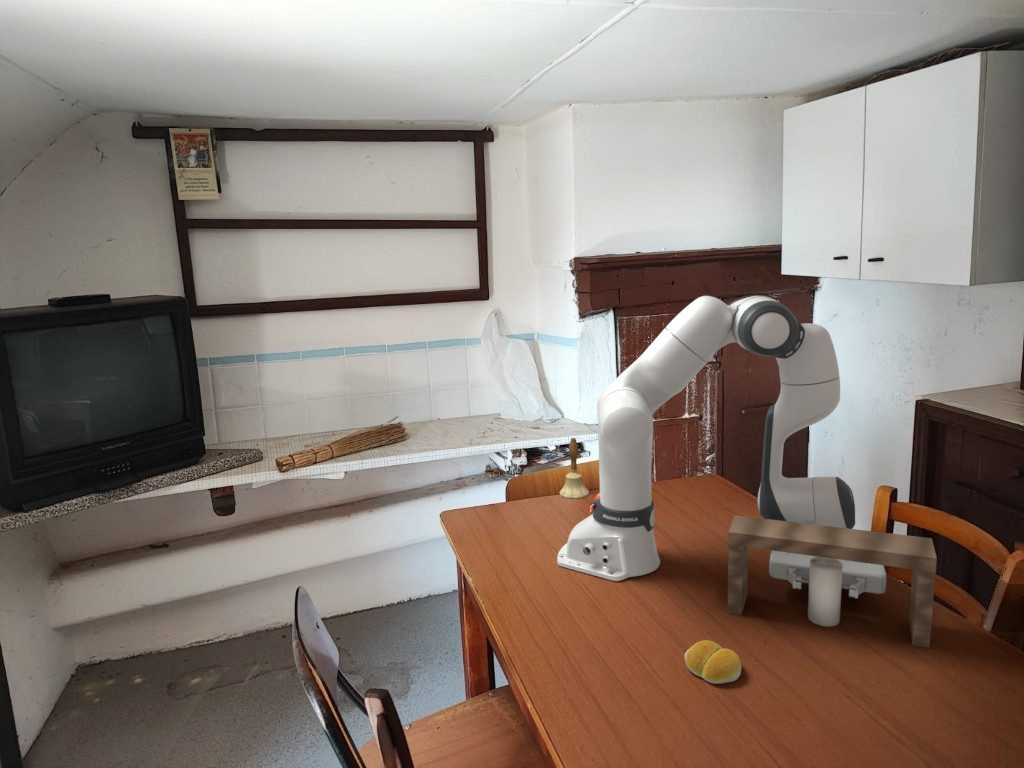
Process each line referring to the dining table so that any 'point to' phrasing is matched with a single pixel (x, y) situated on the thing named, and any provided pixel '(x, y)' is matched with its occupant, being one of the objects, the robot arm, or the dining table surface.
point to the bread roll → (713, 662)
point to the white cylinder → (825, 591)
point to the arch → (837, 546)
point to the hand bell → (574, 476)
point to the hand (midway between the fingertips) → (824, 589)
